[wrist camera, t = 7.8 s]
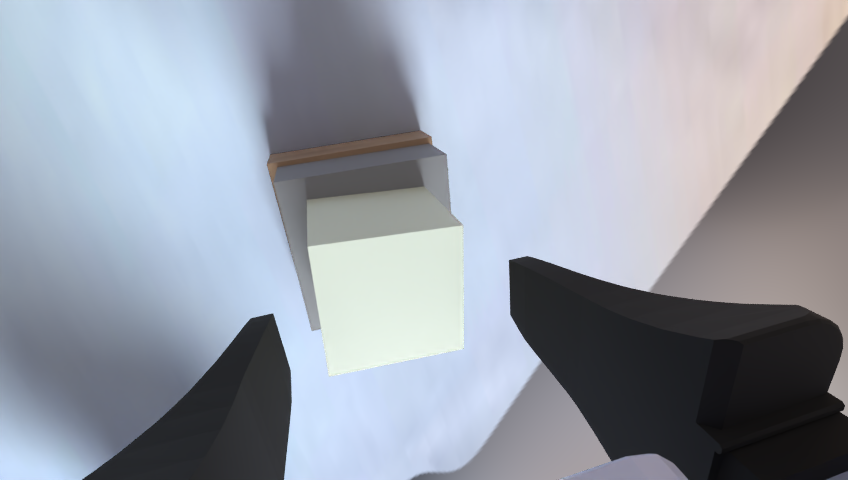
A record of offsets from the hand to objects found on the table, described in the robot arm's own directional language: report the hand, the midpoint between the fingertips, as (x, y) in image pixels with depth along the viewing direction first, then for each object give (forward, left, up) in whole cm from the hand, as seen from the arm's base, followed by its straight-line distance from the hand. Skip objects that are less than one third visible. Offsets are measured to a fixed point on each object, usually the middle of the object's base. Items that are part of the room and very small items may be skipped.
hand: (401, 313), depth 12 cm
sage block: (0, 0, -5) cm, 5 cm away
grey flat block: (0, 0, -7) cm, 7 cm away
